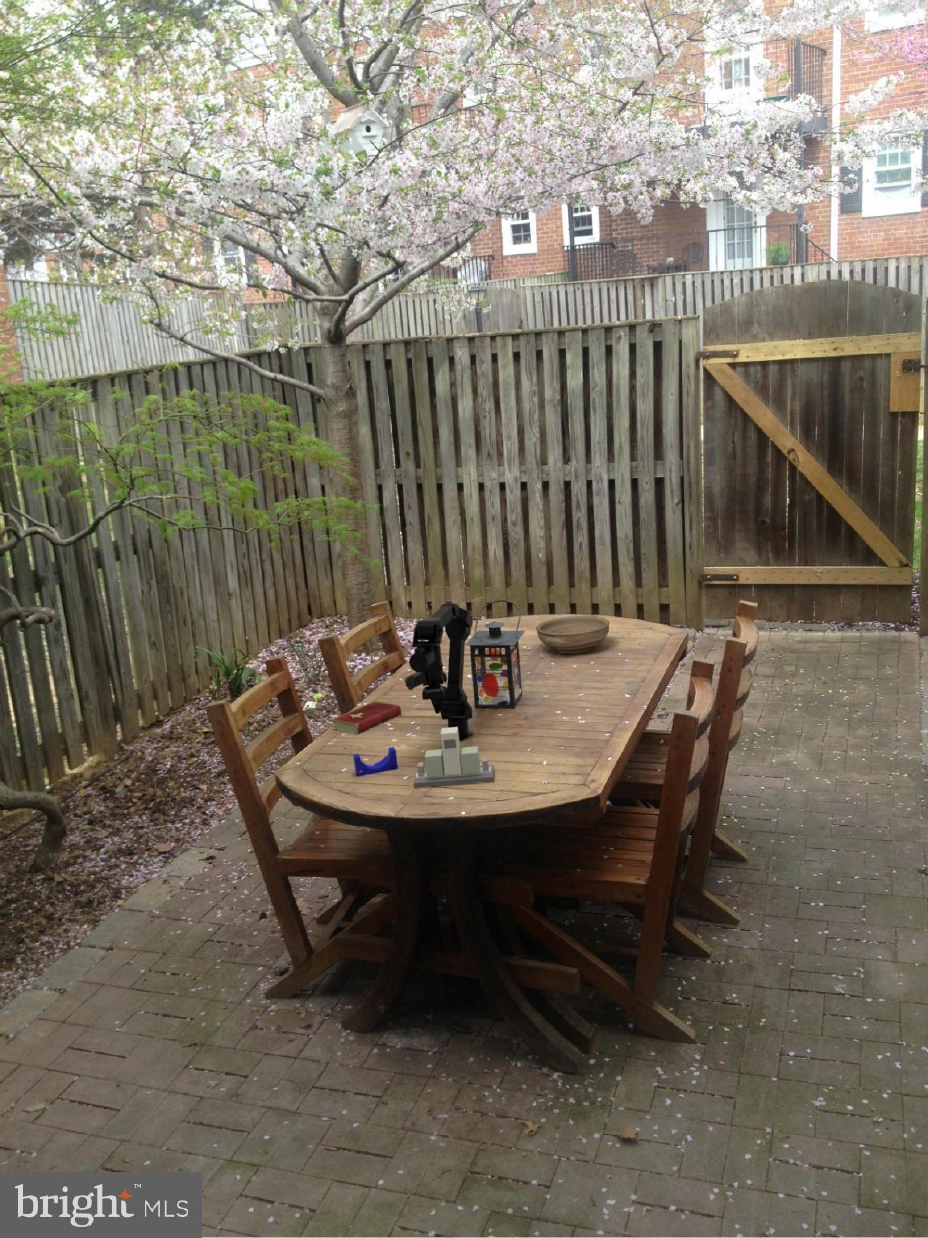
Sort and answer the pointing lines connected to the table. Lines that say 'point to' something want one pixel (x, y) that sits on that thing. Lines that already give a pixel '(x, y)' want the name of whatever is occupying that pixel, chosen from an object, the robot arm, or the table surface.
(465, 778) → the rail board
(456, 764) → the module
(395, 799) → the table surface
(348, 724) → the hardcover book
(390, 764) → the blue cradle stand
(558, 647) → the ceramic bowl
